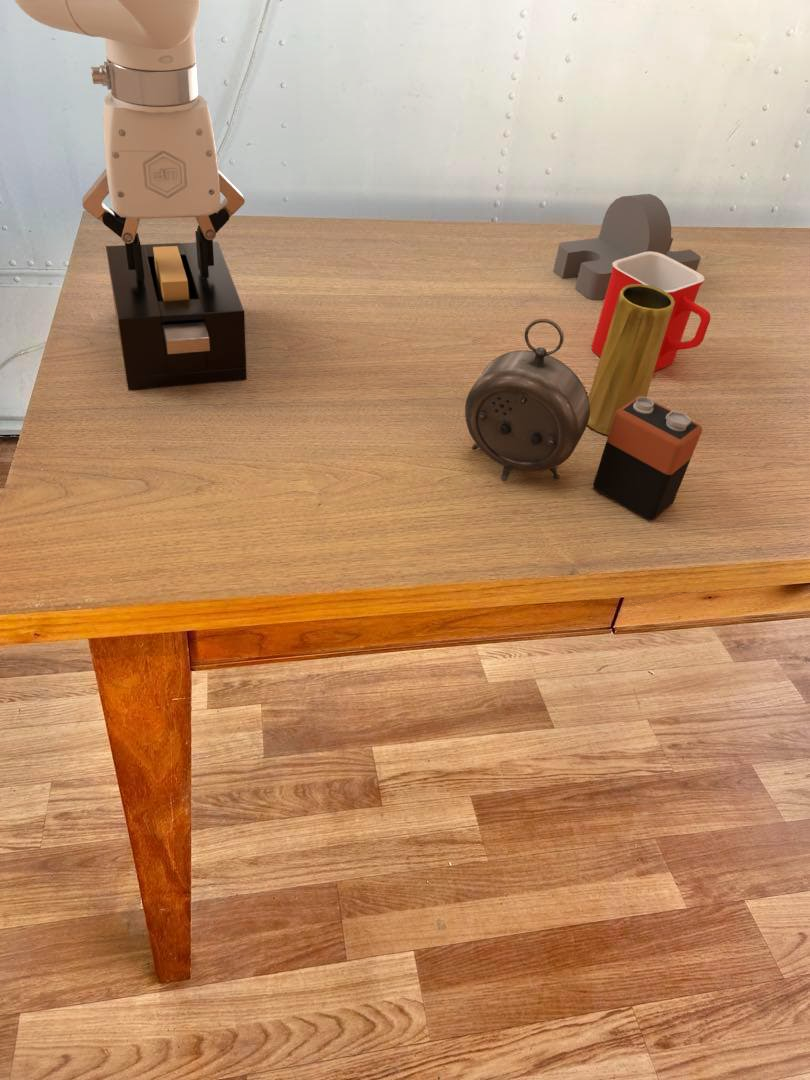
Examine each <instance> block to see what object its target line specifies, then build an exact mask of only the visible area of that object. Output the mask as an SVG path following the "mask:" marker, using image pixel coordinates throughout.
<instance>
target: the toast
mask: <svg viewBox="0 0 810 1080" xmlns="http://www.w3.org/2000/svg"><path fill="white" fill-rule="evenodd" d="M153 252H154V261H155V271H156V280H157V290H158V299H159V301H175V300H189V290H188V280H187V277H186V273H185V270H184V267H183V263H182V260H181V257H180V253H179V250H178V247H177V246H166V247H153Z"/></svg>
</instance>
